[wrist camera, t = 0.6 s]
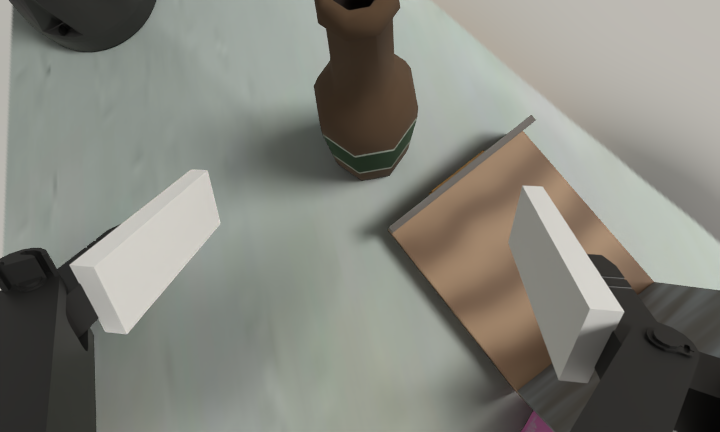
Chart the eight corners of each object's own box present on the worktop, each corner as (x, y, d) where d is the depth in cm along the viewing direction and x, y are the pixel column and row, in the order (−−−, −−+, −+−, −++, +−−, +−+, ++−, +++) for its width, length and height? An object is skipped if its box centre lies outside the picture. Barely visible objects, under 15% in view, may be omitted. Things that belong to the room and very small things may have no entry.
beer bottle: (319, 135, 39) (223, -42, 15) (381, 96, 39) (385, -144, 15) (358, 197, 38) (322, 113, 14) (421, 157, 38) (492, 6, 14)
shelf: (386, 228, 38) (390, 216, 23) (508, 132, 38) (587, 61, 23) (515, 391, 36) (608, 489, 21) (643, 289, 36) (821, 318, 21)
